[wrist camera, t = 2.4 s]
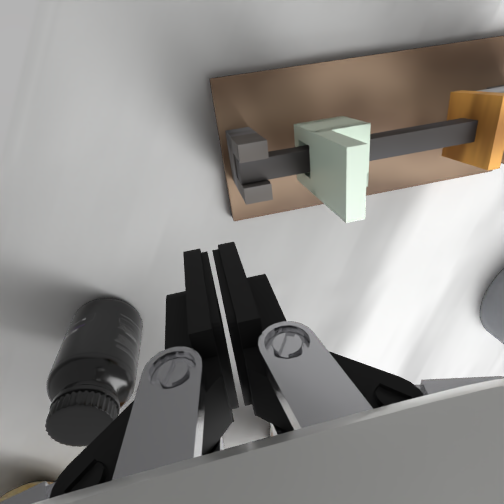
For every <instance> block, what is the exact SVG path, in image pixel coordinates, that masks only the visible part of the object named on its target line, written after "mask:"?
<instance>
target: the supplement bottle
mask: <svg viewBox="0 0 504 504" xmlns="http://www.w3.org/2000/svg"><path fill="white" fill-rule="evenodd" d="M142 328H143V325H142V319H141V317H140V315H139V313H138V312H137V310H136V309H135V308H134V307H132V306H131V305H130V304H128V303H126V302H124V301H121V300H118V299H112V298H102V299H96V300H93V301H90V302H88V303H86V304H85V305H83V306H82V307H81V308H80V309H79V310H78V311H77V312H76V314H75V315H74V317H73V319H72V322H71V324H70V326H69V329H68V331H67V333H66V336H65V338H64V340H63V343H62V345H61V348H60V350H59V352H58V355H57V357H56V359H55V362H54V364H53V367H52V369H51V371H50V374H49V377H48V380H47V393H48V396H49V399H50V401H51V402H52V404H51V406H50V411H49V414H48V417H47V419H46V425H45V427H46V431H47V432H48V435H50V436H51V438H52V439H54V440H55V441H57V442H59V443H61V444H65V445H70V446H79V447H80V446H88V445H89V444H90V443H91V442H92V441H93V440H94V439H95V438H96V437H97V436H98V435H99V434H100V433H101V432H102V431H103V430H104V429H105V428H106V427H108V426H109V425H110V424H111V423H112V422H113V421H114V420H115V419H116V418H117V416H118V414H119V409H120V408H121V407H122V406H124V405H125V404H126V402H127V401H128V400H129V399H130V397H131V395H132V393H133V390H134V386H135V380H136V373H137V366H138V359H139V351H140V344H141V337H142Z"/></svg>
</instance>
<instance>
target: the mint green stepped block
mask: <svg viewBox="0 0 504 504" xmlns="http://www.w3.org/2000/svg"><path fill="white" fill-rule="evenodd" d="M370 128H371V123H368V122H364V121H360V120H356V119H352V118H349V117H345V116H340V117H334V118H328V119H322V120H316V121H310V122H304V123H298V124H294V138H295V147H298V146H304V145H309V153H310V172H308V173H302V174H297V180H298V181H299V182H300V183H301V184H302V185H304V186H305V187H306V188H307V189H308V190H309V191H310V192H312V193H313V194H314V195H315V196H316V197H317V198H318V199H319V200H321V201H322V202H323V203H324V204H325V205H326V206H327V207H328V208H330V209H331V210H332V211H333V212H334V213H335V214H336V215H337V216H339V217H340V218H341V219H342V220H343V221H344V222H345V223H349V222H354V221H359V220H364V219H365V207H366V187H368V176H369V152H370Z"/></svg>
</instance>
